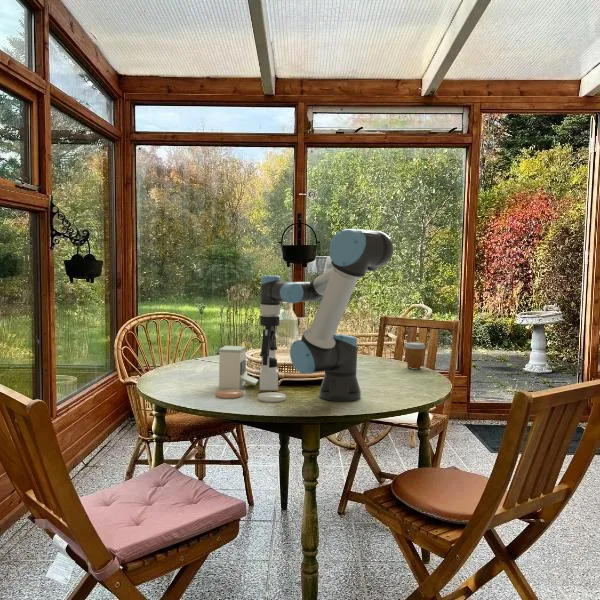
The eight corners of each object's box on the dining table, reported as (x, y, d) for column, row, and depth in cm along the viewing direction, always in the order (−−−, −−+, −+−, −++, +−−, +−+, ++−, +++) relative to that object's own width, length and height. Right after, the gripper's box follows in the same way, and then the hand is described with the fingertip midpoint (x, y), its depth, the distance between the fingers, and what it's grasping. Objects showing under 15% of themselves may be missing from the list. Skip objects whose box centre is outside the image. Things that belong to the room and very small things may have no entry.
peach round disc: (245, 392, 207) (246, 389, 207) (239, 399, 197) (239, 395, 197) (219, 391, 208) (219, 388, 208) (212, 397, 198) (212, 394, 198)
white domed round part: (287, 396, 203) (287, 392, 203) (283, 402, 193) (283, 399, 193) (260, 394, 204) (260, 391, 204) (255, 401, 195) (255, 398, 194)
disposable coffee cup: (420, 366, 270) (421, 341, 269) (427, 370, 260) (428, 344, 260) (401, 366, 268) (402, 341, 268) (407, 370, 259) (408, 344, 258)
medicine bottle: (278, 390, 212) (278, 359, 211) (259, 390, 211) (260, 359, 211) (277, 386, 219) (278, 356, 218) (259, 386, 219) (260, 356, 218)
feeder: (259, 383, 223) (260, 346, 222) (254, 389, 213) (254, 350, 212) (225, 382, 225) (225, 345, 224) (218, 387, 214) (218, 349, 213)
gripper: (266, 311, 226) (264, 363, 228) (253, 318, 202) (252, 376, 203) (284, 312, 225) (282, 364, 227) (273, 319, 201) (272, 377, 202)
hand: (268, 369), depth 215 cm, fingers open, 13 cm apart
